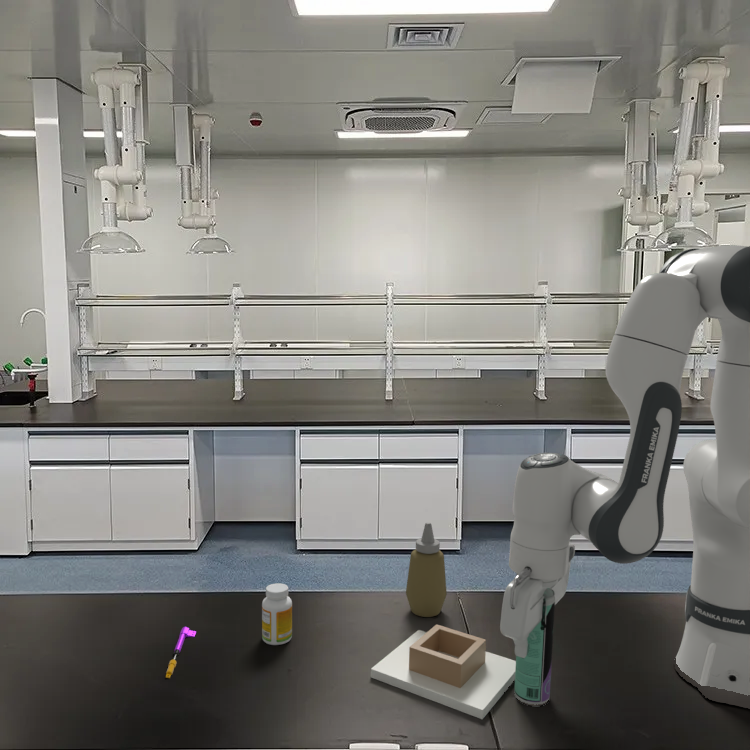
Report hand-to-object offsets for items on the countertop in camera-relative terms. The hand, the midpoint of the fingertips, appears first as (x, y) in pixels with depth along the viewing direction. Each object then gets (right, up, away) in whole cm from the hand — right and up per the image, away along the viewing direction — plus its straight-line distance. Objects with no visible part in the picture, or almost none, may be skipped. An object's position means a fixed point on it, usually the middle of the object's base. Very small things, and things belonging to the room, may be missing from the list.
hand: (532, 642), depth 112 cm
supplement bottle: (-43, -6, +18) cm, 47 cm away
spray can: (0, -9, +1) cm, 9 cm away
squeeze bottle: (-15, -5, +30) cm, 33 cm away
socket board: (-13, -8, +7) cm, 17 cm away
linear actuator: (-58, -7, +13) cm, 60 cm away
